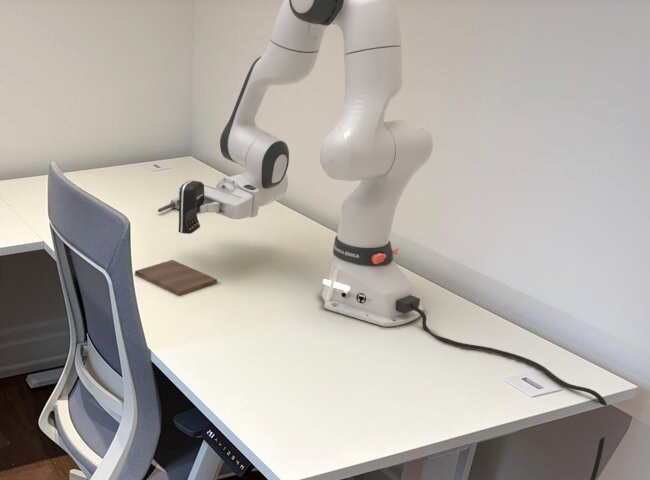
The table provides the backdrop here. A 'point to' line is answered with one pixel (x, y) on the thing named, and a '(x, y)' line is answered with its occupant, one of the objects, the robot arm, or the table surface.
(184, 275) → the board
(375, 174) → the robot arm
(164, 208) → the walkie-talkie
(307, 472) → the table surface
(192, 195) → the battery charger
